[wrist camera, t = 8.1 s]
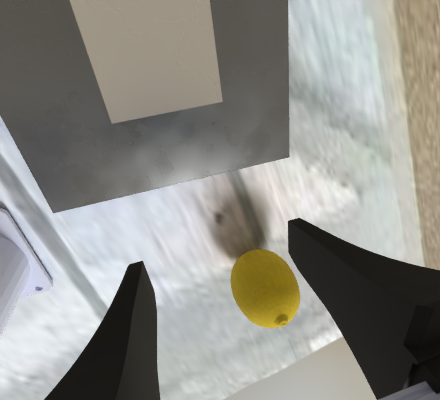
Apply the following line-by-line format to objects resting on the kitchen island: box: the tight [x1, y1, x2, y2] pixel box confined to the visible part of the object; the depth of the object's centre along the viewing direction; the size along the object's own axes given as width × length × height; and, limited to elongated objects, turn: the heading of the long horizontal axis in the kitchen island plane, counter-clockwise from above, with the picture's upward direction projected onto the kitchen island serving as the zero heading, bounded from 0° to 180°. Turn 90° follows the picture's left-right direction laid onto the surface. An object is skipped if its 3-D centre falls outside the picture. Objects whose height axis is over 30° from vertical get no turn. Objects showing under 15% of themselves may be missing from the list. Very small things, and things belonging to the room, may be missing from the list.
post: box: [70, 0, 223, 124], centre depth 10 cm, size 3×3×8 cm
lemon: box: [231, 249, 300, 328], centre depth 24 cm, size 6×6×8 cm
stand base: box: [0, 0, 289, 213], centre depth 15 cm, size 18×18×5 cm
